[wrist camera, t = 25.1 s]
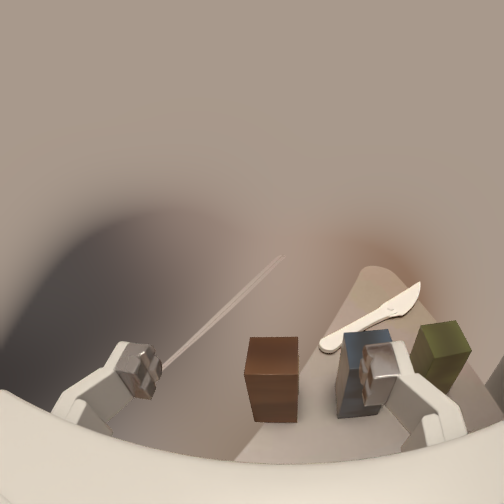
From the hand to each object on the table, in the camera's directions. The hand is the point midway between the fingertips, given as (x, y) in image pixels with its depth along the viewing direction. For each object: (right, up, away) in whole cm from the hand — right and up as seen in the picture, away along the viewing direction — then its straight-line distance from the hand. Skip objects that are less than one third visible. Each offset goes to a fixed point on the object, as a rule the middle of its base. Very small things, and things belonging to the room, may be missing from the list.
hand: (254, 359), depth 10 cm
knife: (+21, -7, +32) cm, 40 cm away
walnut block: (+3, -15, +21) cm, 26 cm away
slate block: (+13, -14, +20) cm, 28 cm away
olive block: (+22, -14, +19) cm, 32 cm away
